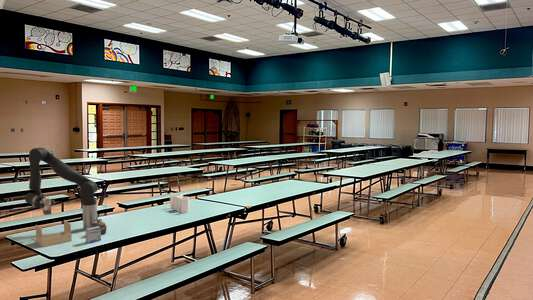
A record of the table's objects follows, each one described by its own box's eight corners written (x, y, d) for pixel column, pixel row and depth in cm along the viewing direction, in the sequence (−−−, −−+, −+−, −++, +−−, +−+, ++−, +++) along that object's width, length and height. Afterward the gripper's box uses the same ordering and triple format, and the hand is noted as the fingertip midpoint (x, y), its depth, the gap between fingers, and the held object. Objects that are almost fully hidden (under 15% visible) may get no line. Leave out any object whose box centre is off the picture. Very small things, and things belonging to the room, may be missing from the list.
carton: (59, 233, 268) (58, 217, 268) (71, 241, 250) (71, 223, 250) (31, 238, 257) (30, 221, 256) (42, 246, 239) (41, 229, 238)
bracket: (192, 212, 330) (191, 197, 329) (181, 213, 324) (180, 199, 323) (180, 206, 350) (179, 193, 349) (169, 208, 344) (169, 194, 344)
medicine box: (88, 243, 245) (88, 229, 244) (85, 242, 248) (85, 228, 247) (101, 240, 251) (100, 227, 250) (98, 239, 254) (97, 226, 253)
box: (49, 212, 260) (48, 197, 259) (51, 214, 257) (50, 198, 256) (42, 213, 258) (42, 198, 257) (45, 215, 254) (44, 199, 253)
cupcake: (93, 237, 259) (92, 221, 258) (90, 233, 267) (89, 219, 266) (108, 234, 265) (108, 219, 264) (105, 231, 272) (104, 217, 272)
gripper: (28, 197, 263) (35, 201, 250) (51, 194, 272) (59, 197, 260) (28, 208, 263) (35, 212, 251) (51, 205, 273) (59, 209, 260)
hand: (47, 205), depth 255 cm, fingers closed on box, 3 cm apart
